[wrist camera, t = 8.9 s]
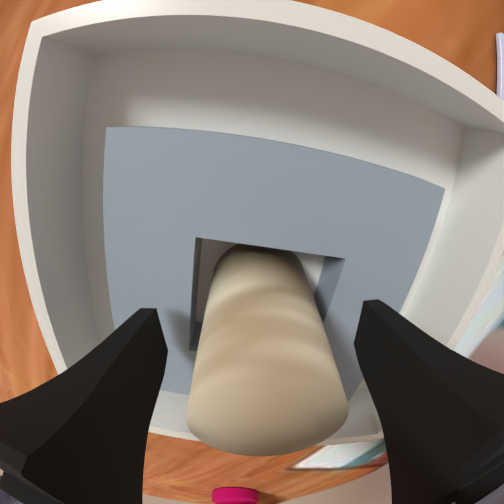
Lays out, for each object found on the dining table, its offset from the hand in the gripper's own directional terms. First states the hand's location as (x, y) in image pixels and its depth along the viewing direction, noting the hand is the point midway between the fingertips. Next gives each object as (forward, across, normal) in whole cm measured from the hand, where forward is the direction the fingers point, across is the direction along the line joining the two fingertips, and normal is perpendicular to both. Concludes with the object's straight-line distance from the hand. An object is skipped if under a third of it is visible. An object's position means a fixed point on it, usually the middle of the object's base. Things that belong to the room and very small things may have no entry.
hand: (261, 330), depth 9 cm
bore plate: (+4, 0, 0) cm, 4 cm away
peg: (+3, 0, 0) cm, 3 cm away
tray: (+4, 0, -1) cm, 4 cm away
